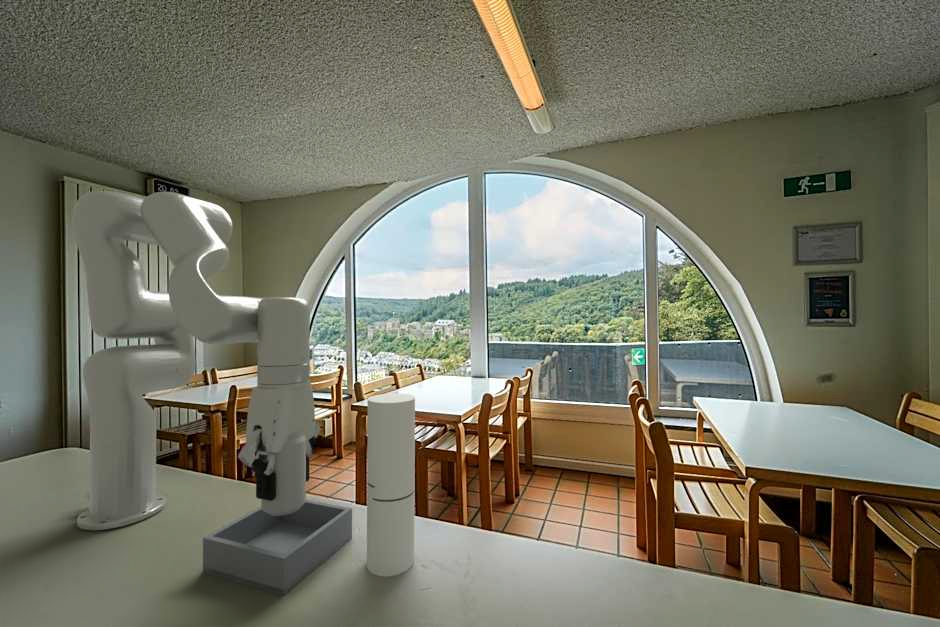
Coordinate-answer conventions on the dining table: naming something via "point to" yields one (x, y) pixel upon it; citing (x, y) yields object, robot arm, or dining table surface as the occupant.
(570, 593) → the dining table surface
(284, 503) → the beverage can
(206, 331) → the robot arm
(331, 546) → the box
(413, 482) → the cylindrical container
